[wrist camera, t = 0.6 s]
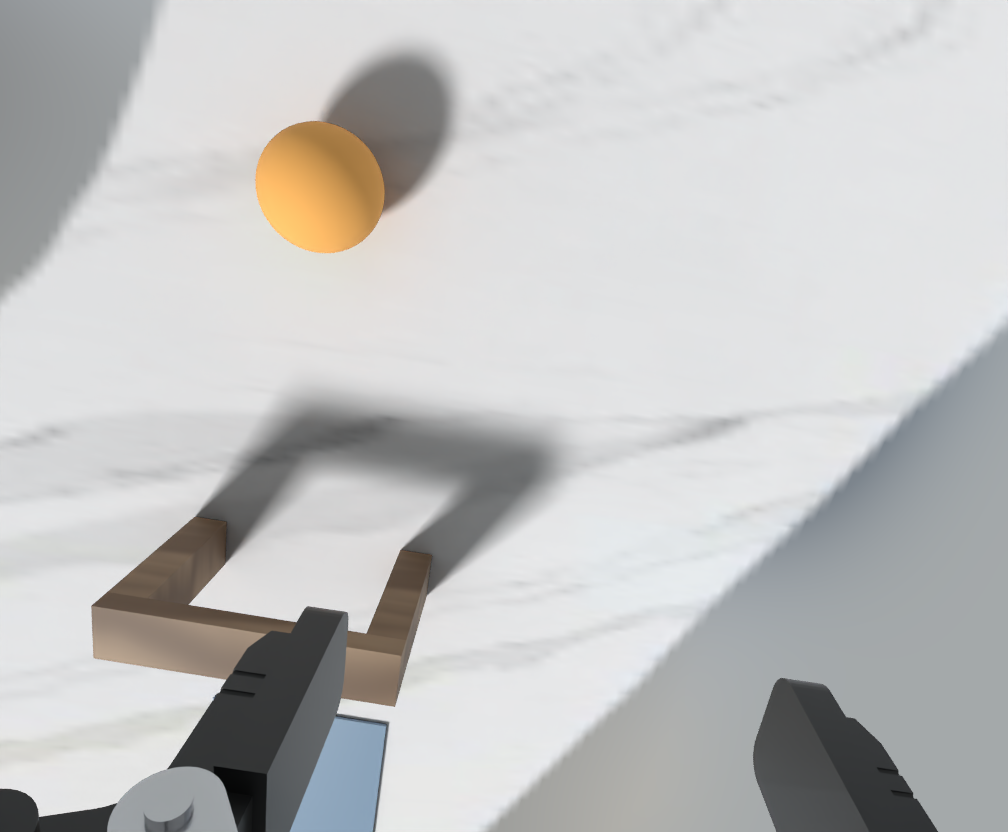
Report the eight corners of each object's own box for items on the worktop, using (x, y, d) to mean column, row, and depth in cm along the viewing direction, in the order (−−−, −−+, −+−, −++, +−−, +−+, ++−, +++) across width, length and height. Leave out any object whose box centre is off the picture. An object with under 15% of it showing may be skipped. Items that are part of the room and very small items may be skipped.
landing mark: (214, 696, 43) (212, 698, 43) (386, 724, 44) (385, 726, 43) (210, 828, 47) (209, 830, 47) (370, 853, 47) (369, 856, 47)
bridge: (194, 516, 40) (91, 606, 30) (432, 555, 40) (401, 655, 30) (194, 558, 40) (93, 658, 31) (426, 596, 40) (394, 706, 31)
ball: (287, 122, 33) (234, 100, 27) (401, 141, 33) (373, 123, 27) (280, 241, 34) (230, 244, 29) (389, 259, 34) (361, 265, 29)
